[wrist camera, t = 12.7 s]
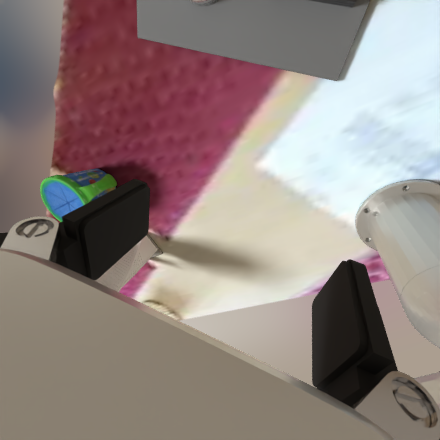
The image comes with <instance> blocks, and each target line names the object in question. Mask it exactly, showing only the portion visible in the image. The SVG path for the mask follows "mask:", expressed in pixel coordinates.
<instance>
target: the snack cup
mask: <svg viewBox="0 0 440 440" xmlns="http://www.w3.org/2000/svg"><path fill="white" fill-rule="evenodd" d="M116 186H117V183H116V180H115V179H114V178H113V177H112V176H111V175H110V174H107V173H105V172H104V171H101V170H100V169H90V170H85V171H81V172H76V173H71V174H67V175H63V176H62V175H55V176H51V177H48V178H46V179H45V180H43V182H42V183H41V186H40V193H41V197H42V200H43V202H44V204H45V205H46V207H47V209H48V210H49V211H50V212H51V214H52V215H53V216H54V217H55V218H56V219H58V220H59V221H60V222H62V221H63V220H62V216H64V215H66V214H68V213H70V212H72V211H73V210H75V209H77V208H79V207H81V206H83V205H85V204H87V203H89V202H91V201H93V200H95V199H97V198H98V197H100V196H102V195H104V194H106V193H108V192H110V191H112V190H114V189H116Z"/></svg>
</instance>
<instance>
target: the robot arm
mask: <svg viewBox="0 0 440 440" xmlns="http://www.w3.org/2000/svg"><path fill="white" fill-rule="evenodd" d="M404 186H405V187H404ZM149 199H150V188H149V187H148V186H147V183H145V182H142V181H140V180H137V179H133V180H131V181H129V182H127V183H125V184H123V185H122V186H120V187H118V188H116V189H114V190H112V191H110V192H108V193H106V194H104V195H102V196H100V197H98V198H97V199H95V200H93V201H91V202H89V203H87V204H85V205H83V206H81V207H79V208H77V209H75V210H73V211H72V212H70V213H68V214H66V215H64V216H62V220H63V221H62V222H60V223H58V222H57V221H56V220H55V219H53V218H50V217H32V218H28V219H24V220H22V221H20V222H18V223H16V224H15V225H14V226H13V227H12V228H11V229H10V231H9V233H0V440H440V371H439V372H437V373H434V374H429V375H425V376H421V377H417V378H412V377H410V376H409V375H407V374H405V373H402V372H399V371H398V370H397V367H396V363H395V360H394V357H393V354H392V350H391V347H390V344H389V341H388V337H387V334H386V331H385V327H384V324H383V321H382V317H381V314H380V311H379V308H378V306H377V303H376V299H375V296H374V293H373V289H372V286H371V283H370V279H369V276H368V273H367V269H366V266H365V265H364V264H361V263H358V262H356V261H353V260H348V261H347V262H346V261H342V262H341V263H340V265H339V266H338V267H337V269H336V270H335V271H334V273H333V274H332V276H331V277H330V278H329V280H328V281H327V282H326V284H325V285H324V286H323V288H322V289H321V291H320V292H319V293H318V295H317V296H316V297H315V299H314V301H313V304H312V381H313V385H314V386H315V387H317V389H316V388H315V387H312V386H310V385H309V384H307V383H305V382H303V381H301V380H299V379H297V378H294V377H293V376H291V375H289V374H287V373H285V372H283V371H281V370H279V369H277V368H275V367H273V366H271V365H269V364H267V363H265V362H262V361H260V360H258V359H256V358H254V357H252V356H250V355H248V354H246V353H244V352H242V351H240V350H238V349H236V348H234V347H232V346H229V345H228V344H225V343H223V342H221V341H219V340H217V339H215V338H213V337H211V336H209V335H207V334H205V333H203V332H201V331H199V330H196V329H194V328H192V327H190V326H188V325H186V324H184V323H182V322H180V321H178V320H176V319H174V318H172V317H169V316H167V315H165V314H163V313H161V312H159V311H157V310H155V309H153V308H151V307H149V306H146V305H144V304H142V303H140V302H138V301H136V300H134V299H132V298H130V297H127V296H125V295H123V294H121V293H119V292H117V291H115V290H113V289H111V288H108V287H106V286H104V285H102V284H100V283H98V282H96V281H94V280H97V279H98V278H100V277H101V276H102V275H103V274H104V273H105V272H106V271H107V270H109V269H110V268H111V267H112V266H113V265H114V264H115V263H116V262H117V261H119V260H120V259H121V258H122V257H123V256H124V255H125V254H126V253H127V252H129V251H130V250H131V249H132V248H133V247H134V246H135V245H136V244H137V243H139V242H140V241H141V240H142V239H143V238H144V237H145V236H146V235H147V233H148V228H149ZM366 208H367V209H366ZM355 223H356V229H357V232H358V234H359V236H360V238H361V240H362V241H363V242H364V243H365V244H366V245H368V246H369V247H371V248H373V249H374V250H376V251H378V252H379V255H380V257H381V259H382V261H383V264H384V266H385V268H386V270H387V273H388V275H389V277H390V279H391V281H392V284H393V286H394V288H395V291H396V293H397V295H398V297H399V300H400V302H401V304H402V307H403V309H404V311H405V313H406V315H407V317H408V319H409V321H410V322H411V324H412V325H413V326H414V328H415V329H416V330H417V331H418V332H419V333H420V334H421V335H422V336H423V337H424V338H426V339H427V340H428V341H430V342H431V343H433V344H434V345H435V346H437V347H439V348H440V185H439V184H437V183H434V182H430V181H424V180H406V181H401V182H396V183H393V184H390V185H387V186H385V187H383V188H381V189H379V190H377V191H376V192H374V193H373V194H372V195H370V196H369V197H368V198H367V199H366V200H365V201H364V202H363V204H362V205H361V206H360V208H359V210H358V212H357V214H356V220H355Z"/></svg>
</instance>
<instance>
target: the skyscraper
mask: <svg viewBox="0 0 440 440" xmlns="http://www.w3.org/2000/svg"><path fill="white" fill-rule="evenodd" d="M162 253H163V252H162V251H161V250H160V249H159V247H158V246H157V245H156V244H155V242H154V241H153V240H152V239H151V237H150V236H149V235H148V234H147V235H146V236H145V237H144V238H143V239H142V240H141V241H140V242H139V243H137V244H136V245H135V246H134V247H133V248H132V249H131V250H130V251H129V252H127V253H126V254H125V255H124V256H123V257H122V258H121V259H120V260H119V261H117V262H116V263H115V264H114V265H113V266H112V267H111V268H110V269H109V270H107V271H106V272H105V273H104V274H103V275H102V276H101V277H100V278H98V279H97V280H94V281H96V282H98V283H100V284H102V285H104V286H106V287H108V288H111V289H113V290H115V291H117V292H119V291H120V290H121V288H122V287H123V286H124V285H125V284H126V283H127V282H128V281H129V280H130V279H131V278H132V277H133V276H134V275H135V274H136V273H137V272H138V271H139V270H140V269H141V268H142V267H143V265H144V264H145V263H146V262H147V261H148V260H149V259H150V258H152V257H155V256H158V255H160V254H162Z"/></svg>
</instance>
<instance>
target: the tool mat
mask: <svg viewBox="0 0 440 440" xmlns="http://www.w3.org/2000/svg"><path fill="white" fill-rule="evenodd" d="M369 2H370V0H357V1H356V3H355V4H354V6H353V7H352V8H351V7H345V6H339V5H333V4H327V3H321V2H315V1H309V0H218V1H216V2H215V3H213V4H211V5H209V6H199V5H196V4H194V3H192V2H191V1H189V0H137V28H138V38H141V39H146V40H151V41H155V42H160V43H164V44H169V45H173V46H178V47H183V48H187V49H192V50H196V51H201V52H205V53H210V54H215V55H219V56H224V57H228V58H233V59H238V60H242V61H247V62H251V63H256V64H260V65H265V66H270V67H274V68H279V69H283V70H288V71H293V72H297V73H302V74H306V75H311V76H315V77H320V78H325V79H329V80H334V81H337V80H338V78H339V75H340V73H341V70H342V68H343V65H344V63H345V61H346V58H347V56H348V53H349V51H350V48H351V46H352V44H353V41H354V39H355V36H356V34H357V31H358V29H359V27H360V24H361V22H362V19H363V17H364V14H365V12H366V10H367V7H368V5H369Z"/></svg>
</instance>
